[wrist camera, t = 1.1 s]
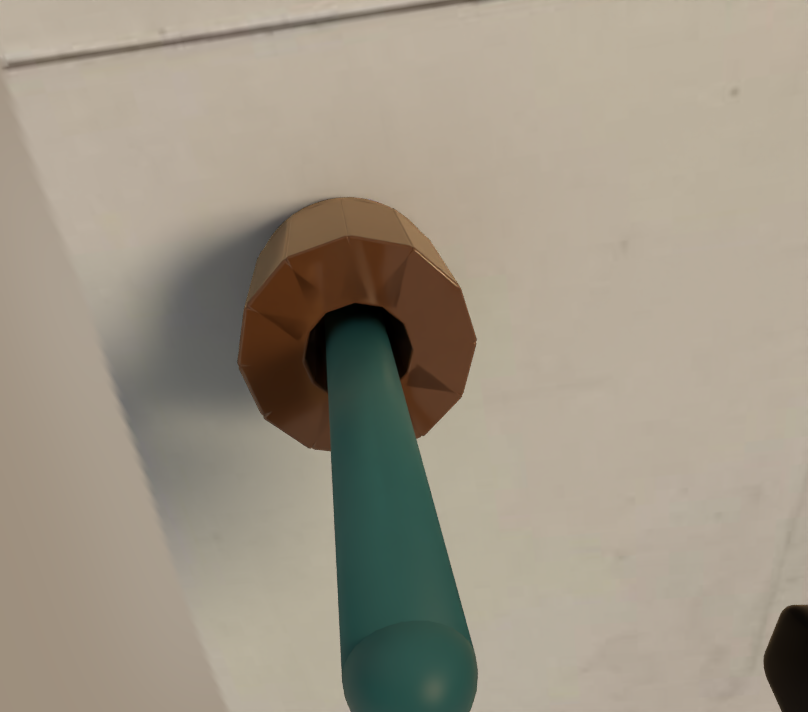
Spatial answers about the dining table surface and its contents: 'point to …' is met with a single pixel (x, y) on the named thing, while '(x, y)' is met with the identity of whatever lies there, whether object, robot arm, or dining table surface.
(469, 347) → the pen stand
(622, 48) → the dining table surface
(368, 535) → the stylus
